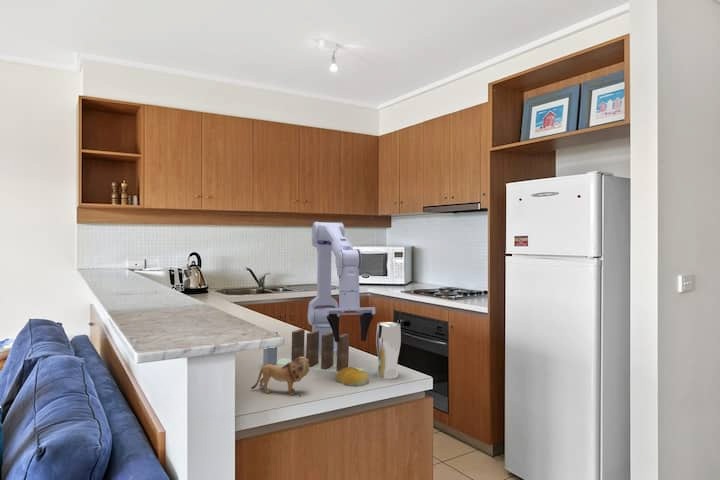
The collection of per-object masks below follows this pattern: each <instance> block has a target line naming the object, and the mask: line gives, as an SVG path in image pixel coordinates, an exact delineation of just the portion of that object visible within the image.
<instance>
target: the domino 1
mask: <svg viewBox="0 0 720 480" xmlns="http://www.w3.org/2000/svg"><path fill="white" fill-rule="evenodd" d="M272 332H273V333H276V334H277V335H278V331H272ZM262 359H263V362H262V367H263V366H265V365H267V364H272V365H274V366H277V365H278V364H277V361H278V346H277V347H275V348H267V349H264V348H263V357H262Z"/></svg>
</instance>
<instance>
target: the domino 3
mask: <svg viewBox="0 0 720 480" xmlns="http://www.w3.org/2000/svg"><path fill="white" fill-rule="evenodd" d="M305 350H306V351H305V355H306V356H305V358H307V359H308V360H309V362H308V363H309V367H310V368H311V367H313V366H315V365H317V364H318V363H319V356H320V354H319V331H315V330H314V331H309V332H307V333H306V348H305Z"/></svg>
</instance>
